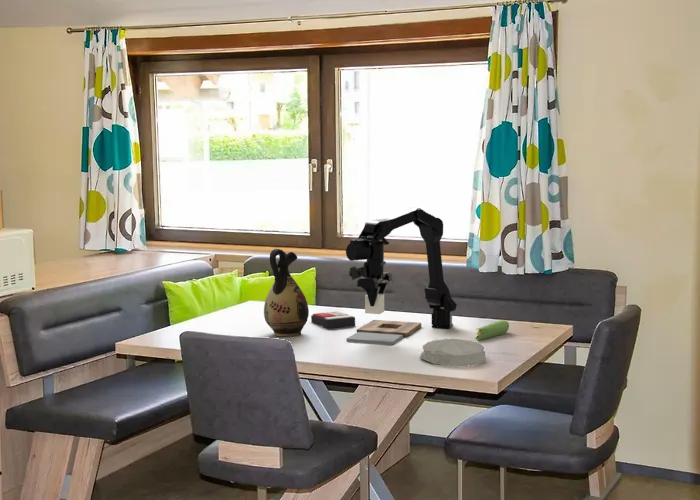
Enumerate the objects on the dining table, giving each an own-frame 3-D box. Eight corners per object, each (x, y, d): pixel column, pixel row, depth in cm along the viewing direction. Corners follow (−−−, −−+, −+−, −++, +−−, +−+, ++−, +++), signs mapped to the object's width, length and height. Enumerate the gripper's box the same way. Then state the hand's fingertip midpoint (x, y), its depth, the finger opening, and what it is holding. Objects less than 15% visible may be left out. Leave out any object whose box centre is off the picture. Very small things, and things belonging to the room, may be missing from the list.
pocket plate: (421, 326, 309) (421, 322, 309) (406, 337, 292) (406, 332, 292) (373, 323, 315) (373, 319, 315) (356, 333, 299) (356, 329, 298)
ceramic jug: (283, 327, 310) (282, 244, 306) (317, 332, 301) (316, 247, 297) (251, 336, 296) (249, 249, 292) (286, 341, 287) (285, 252, 283)
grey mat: (402, 338, 291) (402, 335, 291) (392, 344, 281) (392, 341, 281) (357, 334, 297) (357, 331, 297) (346, 341, 287) (346, 338, 286)
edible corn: (514, 321, 297) (503, 315, 300) (479, 332, 283) (468, 326, 286) (510, 334, 299) (500, 329, 302) (476, 346, 285) (465, 340, 288)
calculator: (337, 310, 325) (355, 315, 311) (337, 321, 325) (355, 326, 311) (310, 313, 320) (327, 317, 306) (311, 324, 320) (328, 330, 307)
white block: (384, 311, 290) (384, 294, 290) (379, 314, 286) (379, 296, 285) (370, 310, 292) (370, 293, 292) (365, 313, 288) (365, 295, 287)
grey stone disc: (488, 354, 270) (488, 332, 269) (484, 368, 250) (484, 345, 250) (424, 352, 274) (424, 331, 274) (415, 366, 255) (415, 343, 254)
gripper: (362, 254, 299) (362, 299, 300) (342, 260, 281) (342, 308, 283) (392, 256, 295) (392, 301, 296) (374, 262, 277) (374, 310, 279)
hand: (374, 305), depth 289 cm, fingers closed on white block, 5 cm apart
